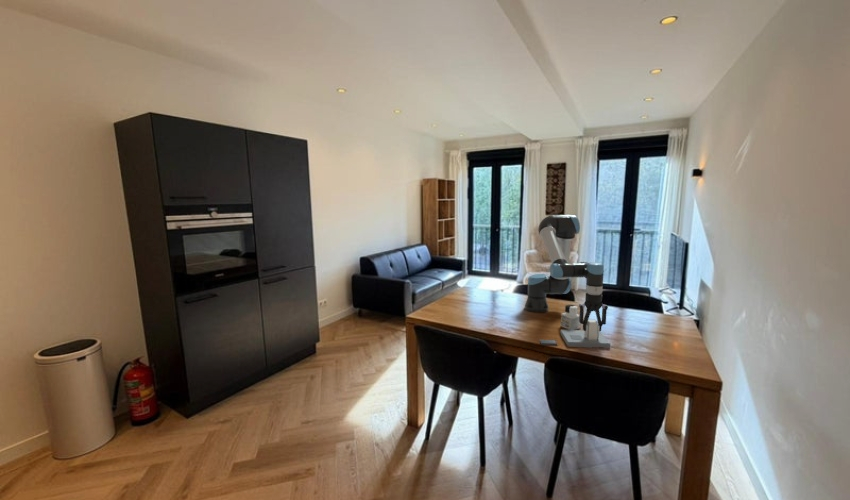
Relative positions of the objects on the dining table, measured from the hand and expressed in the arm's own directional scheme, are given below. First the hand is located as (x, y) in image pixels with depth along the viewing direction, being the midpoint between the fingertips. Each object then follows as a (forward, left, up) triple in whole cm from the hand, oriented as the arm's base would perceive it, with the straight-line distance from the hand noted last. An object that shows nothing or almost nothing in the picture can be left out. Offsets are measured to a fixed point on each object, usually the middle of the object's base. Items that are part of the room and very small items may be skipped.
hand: (591, 336), depth 177 cm
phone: (+3, -22, -3) cm, 22 cm away
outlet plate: (-2, -3, -3) cm, 5 cm away
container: (-20, -5, -3) cm, 21 cm away
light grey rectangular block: (0, 0, -3) cm, 3 cm away
